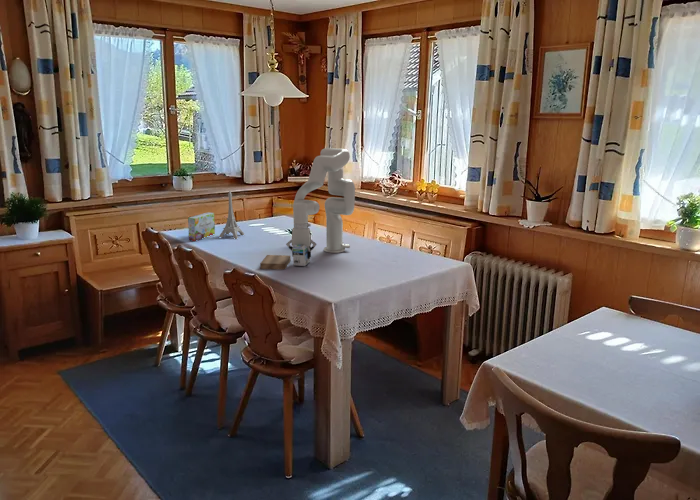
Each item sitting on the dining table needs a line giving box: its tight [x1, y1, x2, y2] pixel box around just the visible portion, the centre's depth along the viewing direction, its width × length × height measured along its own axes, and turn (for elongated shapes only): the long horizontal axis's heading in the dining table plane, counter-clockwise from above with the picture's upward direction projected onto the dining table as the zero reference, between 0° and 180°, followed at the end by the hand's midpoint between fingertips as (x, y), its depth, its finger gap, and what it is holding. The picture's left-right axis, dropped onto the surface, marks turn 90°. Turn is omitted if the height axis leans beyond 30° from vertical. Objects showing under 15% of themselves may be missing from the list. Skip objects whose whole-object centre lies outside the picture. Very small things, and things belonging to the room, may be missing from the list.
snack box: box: [187, 211, 216, 242], centre depth 356 cm, size 21×6×15 cm, turn 159°
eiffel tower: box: [218, 190, 245, 240], centre depth 359 cm, size 13×13×30 cm
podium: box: [259, 254, 291, 270], centre depth 298 cm, size 13×17×3 cm
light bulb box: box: [292, 245, 311, 267], centre depth 298 cm, size 11×7×11 cm, turn 169°
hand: (301, 257), depth 299 cm, fingers closed on light bulb box, 7 cm apart
